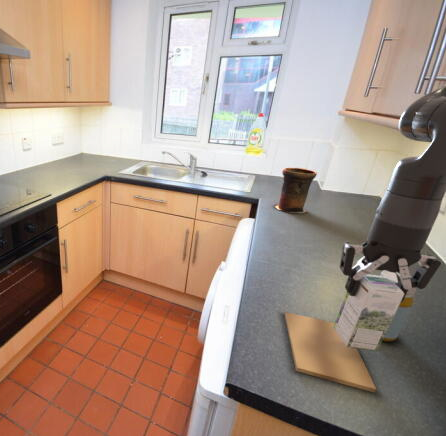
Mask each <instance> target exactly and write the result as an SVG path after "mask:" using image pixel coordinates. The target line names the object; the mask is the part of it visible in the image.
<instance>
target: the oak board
mask: <svg viewBox="0 0 446 436" xmlns="http://www.w3.org/2000/svg"><path fill="white" fill-rule="evenodd" d="M284 320H285V324H286V330H287V334H288V335H287V336H288V338H289V343H290V349H291V352H292V353H291V354H292V359H293V362H294V363H293V364H294V368H295V371H296V372H298V373H302V374H306V375H309V376H313V377H317V378H320V379H324V380H326V381H330V382H335V383H338V384H342V385H345V386H349V387H352V388H356V389H360V390H363V391H366V392H371V393H373V394H375V393H376V391H377V387H376V385H375V383H374V381H373V379H372V377H371V375H370V372H369V371H368V369H367V367H366V364H365V362H364V360H363V358H362V356H361V354H360V352H359V349H358V348H350V347H346V345H345V344H344V342H343V341H342V340H341V338H340V337H339V335H338V334H337V333H336V331H335V330H334V328H333V327H334V324H335V322H331V321H327V320H324V319H318V318H314V317H309V316H307V315H301V314H296V313H291V312H287V311H285V312H284Z"/></svg>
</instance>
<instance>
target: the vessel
mask: <svg viewBox="0 0 446 436" xmlns="http://www.w3.org/2000/svg"><path fill="white" fill-rule="evenodd" d="M281 173H282V176H283V182H282V186H281V190H280V196H279V200H278V201H279V202H278V204H277V205H275V209H277V210H280V211H283V212H285V213H292V214H304V213H306V212H308V211H307V210H306V209H304V207H305V204H306V202H307V199H308V194H309V191H310V187H311V185H312V183H313V180H314V179H315V178H316V177H317V176H318V175H317V174H318V173H317V171H315V170H312V169H307V168H301V167H284V168H283V169H282V172H281Z"/></svg>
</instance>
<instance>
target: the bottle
mask: <svg viewBox="0 0 446 436" xmlns="http://www.w3.org/2000/svg"><path fill="white" fill-rule="evenodd" d="M379 276H385V277H387V278H388V279H390V280H391V281H392V282H394V283H398V281H397V277H396V274H395V273H393V272H389V271H387V270H381V272H380V274H379ZM410 277H412V275H410ZM417 289H418V287H417V288H411V289H409V290H408V292H407V294H406V296H405V298H404V300H403V302H401V303H400V304H399V306H398V308H397V311H396V313H395V315H394V317H393V319H392V321H391V323H390V325H389V327H388V330H387V332H386V334H385V336H384V338H383V340H382V342H392V341H395V340H397V338H398V336H399V335H400V332H401V330H402V328H403V326H404V324H405V321H406V320H407V317H408V315H409V314H410V311H411V308H412V307H413V304H414V295H415V293H416V291H417Z"/></svg>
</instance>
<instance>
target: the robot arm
mask: <svg viewBox="0 0 446 436" xmlns="http://www.w3.org/2000/svg"><path fill="white" fill-rule="evenodd" d="M398 130H399V132H400V134H401V135H402V136H403V137H405V138H406V139H409V140H411V141H415V142H423V143H430V144H429V145H428V147H427V148H426V149H425V151H424V152H423V153H421V155H420V156H410V157H404V158H402V159H400V160H399V161H398V162H397V163H396V165H395V167H394V169H393V172H392V175H391V177H390V180H389V182H388V185H387V187H386V190H385V193H384V195H383V196H382V198H381V200H380V202H379V204H378V207H377V208H376V211H375V215H374V218H373V220H372V224H371V226H370V229H369V232H368V234H367V239H366V240H365V242H363V243H362V244H352V243H351V242H348V241H346V242H344V243H343V245H342V251H341V255H340V262H339V269H340V271H341V272H342V274H343V275H344V276H347V279H346V282H345V285H344V288H345V291H346V293H347V292H348V293H349V295H350V296H355V295H356V292H357V290H358V287H359V284H360V282H361V281H360V279H361V278H362V277H364V276H365V275H366V274H367V275H371V273H373V272H374V271H375V270H376V271H384V270H387V271H389V272H393V273H395V274H396V277H397V281H398V283H395V284H396V285H397V286H398V287H399V288H400V289H401V290H402V291H403V293H404V296H403V298H402V300H401V302H403V300H404V298H405V296H406V294H407V292H408V290H409V289H411V288H417V289H419V290H423V289H425V288H426V287H427V286H428V284H429V283H430V282H431V280H432V278H433V277H434V275H435V274H436V272H437V271H438V270H439V268H440V267H441V265H442V262H441V261H440V260H439V259H438V258H437V257H435V256H433V255H432V254H422V253H421V251H422V250H423V249H424V248H425V245H426V243H427V241H428V239H429V237H430V234H431V232H432V230H433V227H434V225H435V223H436V221H437V219H438V217H439V214H440V210H441V207H442V202H443V199H444V198H445V195H446V85H445V86H442V87H439V88H437V89H434V90H433V91H431V92H428V93H426V94H424V95H423V96H421V97H418V99H416V100H414V101H413V102H412V103H411V104H410V105H409V106H408V107H407V108H406V109H405V110H404V111H403V112H402V114H401V115H400V118H399V120H398ZM360 253H362V254H363V257H361V258H360V259H359V260H357V262H356V264H355V265H354V266H353V264H354V259H355V257H358V255H359V254H360ZM416 263H417V264H418V265H417V267H416V268H415V270H414V272H413V274H412V275H411V273H410V270H409V267H411V266H413V265H415V264H416ZM410 276H411V277H410ZM401 302H400V303H401Z"/></svg>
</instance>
